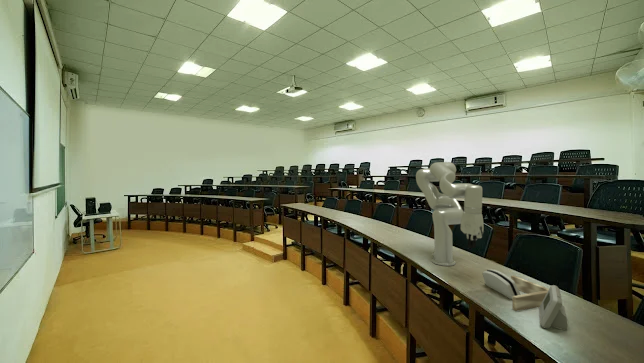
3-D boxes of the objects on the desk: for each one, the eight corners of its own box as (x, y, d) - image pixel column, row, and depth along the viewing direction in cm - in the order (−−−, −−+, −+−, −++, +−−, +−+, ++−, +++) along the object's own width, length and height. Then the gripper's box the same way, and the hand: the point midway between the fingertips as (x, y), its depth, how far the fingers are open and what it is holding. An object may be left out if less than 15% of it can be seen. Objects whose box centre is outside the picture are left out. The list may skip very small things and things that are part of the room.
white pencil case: (525, 299, 111) (517, 277, 110) (515, 304, 111) (507, 282, 110) (495, 283, 128) (488, 264, 127) (486, 287, 127) (479, 268, 127)
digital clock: (540, 308, 104) (540, 281, 104) (572, 318, 97) (572, 288, 97) (529, 324, 93) (529, 294, 93) (564, 336, 87) (564, 303, 86)
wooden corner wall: (478, 291, 119) (478, 280, 119) (514, 286, 124) (514, 275, 124) (516, 311, 102) (516, 297, 102) (556, 303, 107) (556, 291, 107)
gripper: (455, 208, 139) (454, 243, 140) (478, 213, 124) (477, 253, 126) (467, 207, 141) (466, 242, 142) (492, 212, 126) (490, 251, 128)
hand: (471, 247), depth 134 cm, fingers closed
